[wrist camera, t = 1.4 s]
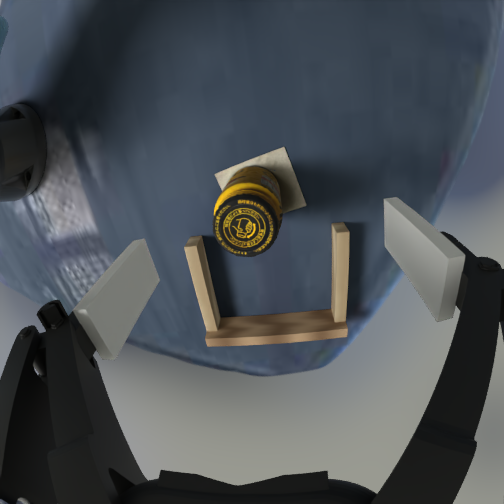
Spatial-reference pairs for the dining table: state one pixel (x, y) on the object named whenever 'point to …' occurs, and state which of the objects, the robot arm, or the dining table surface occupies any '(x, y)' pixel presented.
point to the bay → (273, 325)
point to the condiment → (255, 203)
